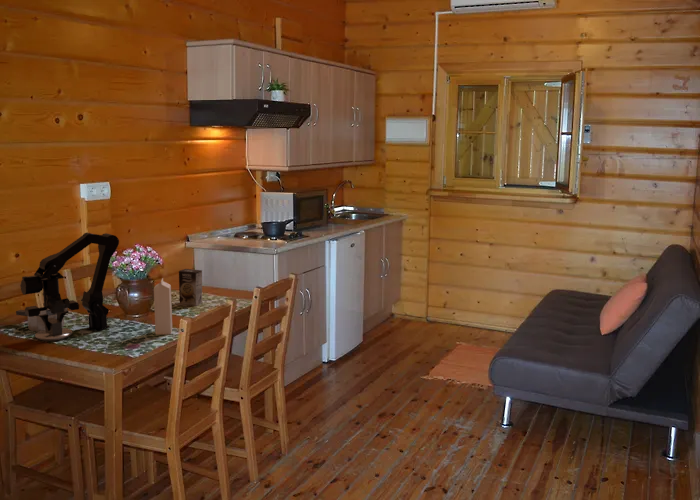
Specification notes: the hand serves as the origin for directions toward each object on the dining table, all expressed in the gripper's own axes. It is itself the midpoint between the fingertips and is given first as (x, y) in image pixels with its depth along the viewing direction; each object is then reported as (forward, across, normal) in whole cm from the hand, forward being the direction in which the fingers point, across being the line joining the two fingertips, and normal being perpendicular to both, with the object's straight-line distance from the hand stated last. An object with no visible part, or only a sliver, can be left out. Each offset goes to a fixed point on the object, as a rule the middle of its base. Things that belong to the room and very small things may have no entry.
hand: (53, 329), depth 264 cm
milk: (+3, +36, -21) cm, 42 cm away
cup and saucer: (+3, 0, 0) cm, 3 cm away
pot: (+3, 0, +20) cm, 20 cm away
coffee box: (+3, +67, +14) cm, 68 cm away
